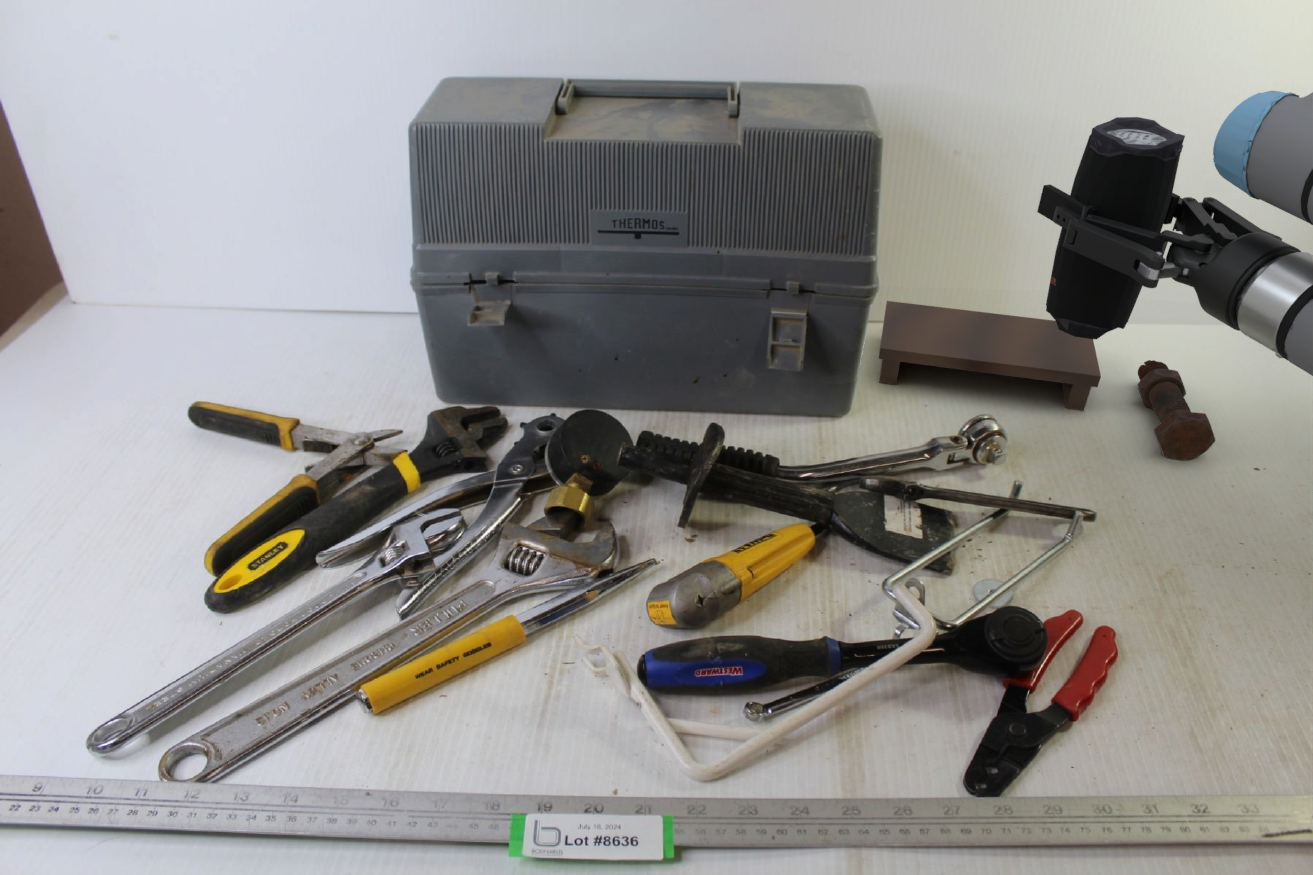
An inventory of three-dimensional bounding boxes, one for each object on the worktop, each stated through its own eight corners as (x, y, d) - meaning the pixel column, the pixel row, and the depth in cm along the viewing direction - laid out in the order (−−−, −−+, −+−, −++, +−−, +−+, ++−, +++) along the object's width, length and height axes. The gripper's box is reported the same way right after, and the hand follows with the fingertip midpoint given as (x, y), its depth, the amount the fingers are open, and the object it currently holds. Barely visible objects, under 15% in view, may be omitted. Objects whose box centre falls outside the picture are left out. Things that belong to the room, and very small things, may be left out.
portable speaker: (1038, 336, 96) (1087, 141, 85) (1042, 294, 103) (1087, 109, 92) (1131, 350, 94) (1194, 151, 82) (1128, 307, 101) (1186, 118, 90)
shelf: (1079, 360, 119) (1090, 324, 116) (1089, 413, 110) (1101, 376, 107) (881, 335, 124) (886, 300, 121) (874, 384, 115) (880, 347, 112)
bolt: (1149, 397, 116) (1183, 470, 103) (1116, 376, 115) (1146, 446, 102) (1188, 363, 112) (1228, 433, 100) (1154, 340, 112) (1190, 408, 99)
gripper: (1148, 355, 77) (982, 242, 94) (1353, 313, 83) (1161, 214, 100) (1178, 270, 73) (998, 168, 90) (1392, 231, 78) (1185, 142, 96)
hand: (1084, 192), depth 95 cm, fingers closed on portable speaker, 9 cm apart
